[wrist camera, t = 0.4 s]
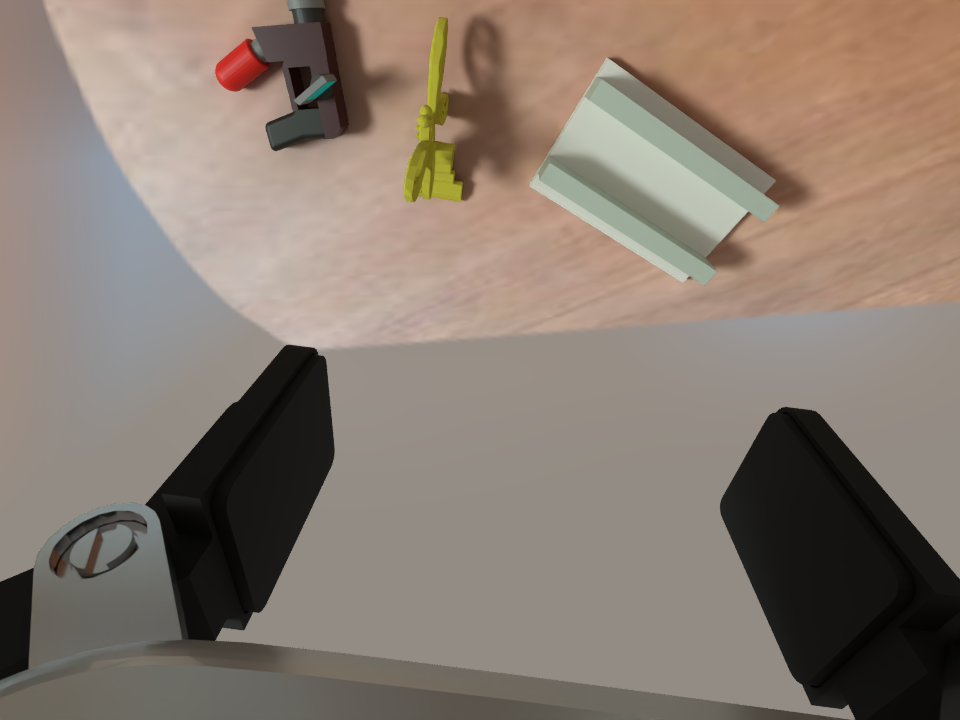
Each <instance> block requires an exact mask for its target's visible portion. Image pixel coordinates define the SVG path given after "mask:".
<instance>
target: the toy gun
mask: <svg viewBox="0 0 960 720" xmlns="http://www.w3.org/2000/svg"><path fill="white" fill-rule="evenodd" d="M287 4H288V9H289V11H292V14H293V18H294V23H295V24H287V25H275V26H262V27H252V30H253V32H254V34H255V36H256V39H255V40H251V39H246V40H245V41H243V42H242V43H241V44H240V45H239V46H238V47H236V48H235V49H234V50H233V51H232V52H230V53H229V54H228V55H227V56H226V57H225V58H223V59H222V60H221V61H220V62H219V63H218V64H217V66H216V69H215V74H216V77H217V80H218V81H219V83H220V84H221V85H222V86H223V87H224V88H226V89H227V90H230V91H239V90H241V89H243V88H244V87H245V86H247V85H248V84H249V83H250V82H252V81H253V80H254V79H255V78H257V77H258V76H259V75H260V74H262V73H263V72H264V71H265V70H267V69H268V68H269V65H270V64H269V62H282V61H283V66H282V68H283V73H284V77H285V81H286V85H287V89H288V93H289V97H290V101H291V105H292V109H293V112H292V113H290V114H287V115H285V116H282V117H280V118H278V119H275V120H273V121H270V122H268V123H267V124H266V132H267V135H268V139H269V142H270V146H271V148H272V150H274V151H278V150H281V149H283V148H286V147H289V146H291V145H294V144H296V143H299V142H301V141H304V140H306V139H322V138H325V139H334V138H336V137H338V136H341V135H343V133H344V132H345V130H346V128H347V127H348V125H349V123H348V117H347V112H346V107H345V102H344V96H343V91H342V86H341V81H340V75H339V70H338V65H337V60H336V58H337V57H336V51H335V46H334V41H333V36H332V30H331V25H330V23H325V19H324V14H323V9H325V3H324V0H287ZM306 66H310V70H311V75H312V79H311V82H310V87H309V88H307V89H306V90H304V85H303V81H302V76H301V72H300V68H299V67H306ZM316 98H317V102H318V107H308V103H311V102H312V101H313V100H314V99H316Z"/></svg>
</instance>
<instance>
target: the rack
mask: <svg viewBox="0 0 960 720" xmlns="http://www.w3.org/2000/svg"><path fill="white" fill-rule="evenodd" d="M775 181H776V180H775V179H773V178H772V177H771V176H769V175H768V174H766V173H765V172H764V171H762V170H761V169H760V168H758V167H757V166H755V165H754V164H753V163H751V162H750V161H749V160H747V159H746V158H745V157H743V156H742V155H740V154H739V153H738V152H736V151H735V150H734V149H732V148H731V147H729V146H728V145H727V144H725V143H724V142H723V141H721V140H720V139H718V138H717V137H716V136H714V135H713V134H712V133H710V132H709V131H707V130H706V129H705V128H703V127H702V126H701V125H699V124H698V123H697V122H695V121H694V120H692V119H691V118H690V117H688V116H687V115H686V114H684V113H683V112H681V111H680V110H679V109H677V108H676V107H675V106H673V105H672V104H670V103H669V102H668V101H666V100H665V99H664V98H662V97H661V96H659V95H658V94H657V93H655V92H654V91H653V90H651V89H650V88H648V87H647V86H646V85H644V84H643V83H642V82H640V81H639V80H638V79H636V78H635V77H633V76H632V75H631V74H629V73H628V72H627V71H625V70H624V69H622V68H621V67H620V66H618V65H617V64H616V63H614V62H613V61H611V60H610V59H609V58H606V59H605V61H604V62H603V64H602V66H601V67H600V69H599V71H598V72H597V74H596V76H595V77H594V79H593V81H592V82H591V84H590V85H589V87H588V89H587V90H586V92H585V94H584V95H583V97H582V99H581V100H580V102H579V103H578V105H577V107H576V108H575V110H574V112H573V113H572V115H571V117H570V118H569V120H568V122H567V123H566V125H565V126H564V128H563V130H562V131H561V133H560V135H559V136H558V138H557V140H556V141H555V143H554V144H553V146H552V148H551V149H550V151H549V153H548V154H547V156H546V158H545V159H544V161H543V162H542V164H541V166H540V167H539V169H538V171H537V172H536V174H535V176H534V177H533V179H532V181H531V182H530V184H529V186H530V187H532V188H533V189H535V190H536V191H538V192H540V193H541V194H543V195H544V196H546V197H547V198H549V199H551V200H552V201H554V202H555V203H557V204H559V205H560V206H562V207H563V208H565V209H567V210H568V211H570V212H571V213H573V214H574V215H576V216H578V217H579V218H581V219H582V220H584V221H586V222H587V223H589V224H590V225H592V226H593V227H595V228H597V229H598V230H600V231H601V232H603V233H605V234H606V235H608V236H609V237H611V238H613V239H614V240H616V241H617V242H619V243H620V244H622V245H624V246H625V247H627V248H628V249H630V250H632V251H633V252H635V253H636V254H638V255H640V256H641V257H643V258H644V259H646V260H647V261H649V262H651V263H652V264H654V265H655V266H657V267H659V268H660V269H662V270H663V271H665V272H666V273H668V274H670V275H671V276H673V277H674V278H676V279H678V280H679V281H681V282H682V283H683V282H684V281H685V280H686V279H687V278H688V277H689V276H690V277H692V278H693V279H695V280H697V281H698V282H700V283H701V284H703V285H704V286H705V285H706V283H707V282H708V281H709V280H710V279H711V278H712V277H713V276H714V275H715V274H716V273H717V271H716V269H715V268H714V267H713V266H712V265H711V263H710V262H709V261H708V260H707V259H706V257H707V256H708V255H709V254H710V253H711V252H712V250H713V249H714V248H715V247H716V246H717V245H718V244H719V243H720V242H721V241H722V239H723V238H724V237H725V236H726V235H727V234H728V233H729V232H730V231H731V230H732V229H733V227H734V226H735V225H736V224H737V223H738V222H739V221H740V220H741V219H742V218H743V216H744V215H745V214H746V213H747V212H750V213H751V214H753V215H754V216H756V217H757V218H759V219H760V220H761V221H763V222H765V221H766V220H767V219H768V218H769V217H770V216H771V215H772V214H773V213H774V212H775V211H776V209H777V208H778V207H779V205H777V204H776V203H775V202H773V201H772V200H770V199H769V198H768V197H766V196H765V195H764V193H765V192H766V191H767V190H768V189H769V188H770V187H771V186H772V185H773V184H774V182H775Z"/></svg>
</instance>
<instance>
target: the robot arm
mask: <svg viewBox="0 0 960 720" xmlns="http://www.w3.org/2000/svg"><path fill="white" fill-rule="evenodd" d="M333 459H334V438H333V427H332V417H331V407H330V396H329V387H328V375H327V365H326V359H325V357H324V356H319V355H318V352H317V350H316V349H315V348H311V347H303V346H295V345H286V346H285V347H284V348H283V349H282V350H281V351H280V352H279V353H278V355H277V356H276V357H275V358H274V359H273V361H272V362H271V363H270V364H269V365H268V367H267V368H266V369H265V370H264V371H263V373H262V374H261V375H260V376H259V377H258V379H257V380H256V381H255V382H254V383H253V384H252V386H251V387H250V388H249V389H248V390H247V392H246V393H245V394H244V395H243V396H242V398H241V399H240V400H239V401H238V402H235V403H233V404H232V405H231V406H229V407H228V408H227V409H226V411H225V412H224V413H223V414H222V416H220V418H219V419H218V420H217V421H216V422H215V424H214V425H213V426H212V427H211V428H210V429H209V431H208V432H207V433H206V434H205V435H204V437H203V438H202V439H201V440H200V441H199V442H198V444H197V445H196V446H195V447H194V448H193V449H192V450H191V452H190V453H189V454H188V455H187V456H186V457H185V459H184V460H183V461H182V462H181V464H180V465H179V466H178V467H177V468H176V469H175V470H174V472H173V473H172V474H171V475H170V476H169V477H168V479H167V480H166V481H165V482H164V483H163V484H162V486H161V487H160V488H159V489H158V490H157V491H156V493H155V494H154V495H153V496H152V497H151V499H150V500H149V501H148V502H147V503H146V504H145V505H142V504H137V503H116V504H111V505H107V506H104V507H99V508H96V509H94V510H92V511H89V512H87V513H85V514H82V515H80V516H78V517H77V518H75V519H73V520H72V521H70V522H69V523H67V524H66V525H64V526H62V527H61V528H60V529H59V530H58V531H57V532H56V533H55V534H54V535H52V536H51V537H50V538H49V539H48V540H47V542H46V543H45V544H44V546H43V547H42V548H41V550H40V551H39V553H38V555H37V558H36V562H35V565H34V568H32V569H30V570H28V571H25V572H23V573H20V574H18V575H16V576H13V577H11V578H8V579H6V580H4V581H1V582H0V720H848V719H840V718H833V717H826V716H819V715H811V714H804V713H797V712H789V711H782V710H775V709H768V708H760V707H753V706H746V705H738V704H731V703H724V702H716V701H709V700H702V699H695V698H687V697H679V696H672V695H663V694H657V693H649V692H642V691H634V690H627V689H619V688H612V687H604V686H596V685H588V684H581V683H573V682H565V681H558V680H551V679H543V678H535V677H527V676H519V675H512V674H505V673H497V672H489V671H481V670H473V669H465V668H457V667H449V666H441V665H433V664H426V663H418V662H410V661H402V660H394V659H386V658H378V657H370V656H362V655H353V654H346V653H336V652H328V651H318V650H309V649H300V648H291V647H281V646H272V645H263V644H253V643H243V642H225V641H215V640H216V638H217V636H218V635H219V633H220V631H221V629H222V628H230V629H237V630H244V629H245V627H246V625H247V623H248V621H249V619H250V617H251V615H252V613H253V612H257V613H259V612H261V611H262V610H263V608H264V607H265V605H266V603H267V601H268V599H269V597H270V595H271V593H272V591H273V589H274V587H275V584H276V582H277V580H278V578H279V576H280V574H281V572H282V569H283V568H284V565H285V563H286V561H287V559H288V557H289V554H290V553H291V551H292V548H293V546H294V544H295V542H296V540H297V538H298V536H299V534H300V531H301V529H302V527H303V525H304V523H305V521H306V519H307V517H308V515H309V513H310V510H311V508H312V506H313V504H314V502H315V500H316V498H317V496H318V494H319V491H320V489H321V487H322V485H323V483H324V481H325V479H326V476H327V474H328V472H329V470H330V468H331V466H332V463H333ZM720 512H721V516H722V518H723V520H724V523H725V525H726V527H727V530H728V531H729V534H730V536H731V539H732V541H733V543H734V545H735V548H736V550H737V552H738V555H739V557H740V559H741V561H742V564H743V566H744V568H745V570H746V573H747V575H748V577H749V579H750V582H751V584H752V586H753V589H754V591H755V593H756V595H757V598H758V600H759V602H760V604H761V607H762V609H763V611H764V613H765V616H766V618H767V620H768V623H769V625H770V627H771V629H772V631H773V634H774V636H775V638H776V641H777V643H778V645H779V647H780V650H781V652H782V654H783V656H784V659H785V661H786V663H787V666H788V668H789V670H790V672H791V674H792V676H793V677H794V678H795V679H796V681H797V682H799V683H800V684H802V685H803V688H804V690H805V692H806V694H807V696H808V698H809V701H810V703H811V705H815V706H823V707H831V708H838V709H843V708H844V707H845V706H847V705H849V707H850V709H851V711H852V713H853V715H854V717H855V720H960V579H959V578H958V577H957V576H956V574H955V573H954V572H953V571H952V570H951V568H950V567H949V566H948V565H947V564H946V563H945V561H944V560H943V559H942V558H941V557H940V555H938V553H937V552H936V551H935V550H934V549H933V547H932V546H931V545H930V544H929V543H928V541H927V540H926V539H925V538H924V537H923V536H922V534H921V533H920V532H919V531H918V530H917V528H916V527H915V526H914V525H913V524H912V523H911V521H910V520H909V519H908V518H907V517H906V515H905V514H904V513H903V512H902V511H901V510H900V508H899V507H898V506H897V505H896V504H895V503H894V501H893V500H892V499H891V498H890V497H889V495H888V494H887V493H886V492H885V491H884V490H883V488H882V487H881V486H880V485H879V484H878V482H877V481H876V480H875V479H874V478H873V477H872V476H871V474H870V473H869V472H868V471H867V470H866V468H865V467H864V466H863V465H862V464H861V462H859V460H858V459H857V458H856V457H855V455H854V454H853V453H852V452H851V451H850V450H849V448H848V447H847V446H846V445H845V444H844V442H843V441H842V440H841V439H840V438H839V437H838V435H837V434H836V433H835V432H834V431H833V430H832V428H831V427H830V426H829V425H828V424H827V422H826V421H825V420H824V419H823V418H822V417H821V415H820V414H818V413H817V412H816V411H812V410H805V409H798V408H789V407H783V408H781V409H779V410H778V411H777V412H776V413H772V414H770V415H769V416H768V418H767V420H766V421H765V423H764V425H763V426H762V428H761V430H760V432H759V433H758V435H757V437H756V439H755V440H754V442H753V444H752V446H751V448H750V449H749V451H748V453H747V455H746V457H745V458H744V460H743V462H742V464H741V465H740V467H739V469H738V471H737V472H736V474H735V476H734V478H733V480H732V481H731V483H730V485H729V487H728V488H727V490H726V492H725V494H724V495H723V497H722V500H721V503H720Z"/></svg>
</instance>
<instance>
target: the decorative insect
mask: <svg viewBox="0 0 960 720" xmlns="http://www.w3.org/2000/svg"><path fill="white" fill-rule="evenodd" d="M447 33H448V19H447V18H442V17H439V19H438V22H437V24H436V27H435V31H434V36H433V41H432V46H431V51H430V63H429V77H428V105H424V106H423V107H421V110H420V114H421V116H419V117H418V123H419V125H420V126H419V125H417V126H416V130H418V131H419V133H417V134H416V138H418V139H419V141H420V143H419V144H418V145H417V147H416V149H415V150H414V152H413V154H412V156H411V157H410V159H409V161H408V166H407V171H406V175H405V180H404V196H405V199H406V202H415V201H416V199H417V197H418V196H423V198H424V199H429V200H430V198H431V197H435V198H440V199H446V200H452V201H458V202H461V198H462V189H463V182H460V181H454V180H455V171H454V170H452V168H453V160H454V152H455V144H449V143H444V142H438V141H435V124H438V125H442V126H443V124H444V122H445V120H446V116H447V111H448V103H449V97H448V94H446V93H440V92H441V86H442V80H443V73H444V65H445V57H446V48H447Z"/></svg>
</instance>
